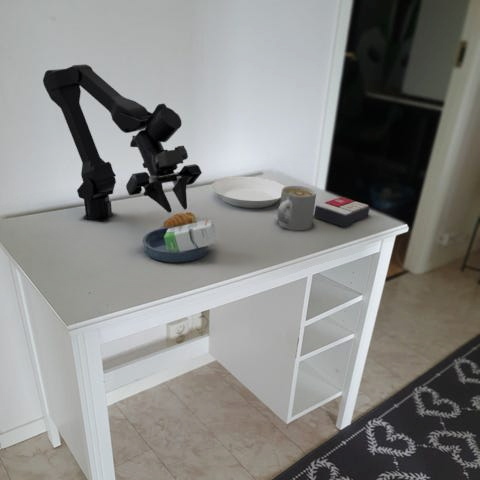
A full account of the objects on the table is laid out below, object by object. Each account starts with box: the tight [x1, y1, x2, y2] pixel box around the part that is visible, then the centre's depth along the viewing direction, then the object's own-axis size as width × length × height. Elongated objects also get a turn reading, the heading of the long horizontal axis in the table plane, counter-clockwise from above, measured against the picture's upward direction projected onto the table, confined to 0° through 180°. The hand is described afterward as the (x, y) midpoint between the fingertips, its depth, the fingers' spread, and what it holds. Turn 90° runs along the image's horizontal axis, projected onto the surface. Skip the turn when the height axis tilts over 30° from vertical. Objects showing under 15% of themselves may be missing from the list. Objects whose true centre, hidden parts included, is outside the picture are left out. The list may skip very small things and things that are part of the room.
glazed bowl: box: [142, 227, 209, 264], centre depth 125 cm, size 16×16×3 cm
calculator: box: [313, 196, 371, 228], centre depth 152 cm, size 11×4×15 cm
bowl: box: [211, 176, 286, 209], centre depth 162 cm, size 25×25×4 cm
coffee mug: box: [277, 185, 317, 231], centre depth 142 cm, size 13×10×10 cm
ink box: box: [164, 218, 217, 252], centre depth 121 cm, size 9×5×12 cm
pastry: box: [162, 211, 198, 228], centre depth 138 cm, size 9×7×4 cm
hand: (178, 210), depth 119 cm, fingers open, 4 cm apart
